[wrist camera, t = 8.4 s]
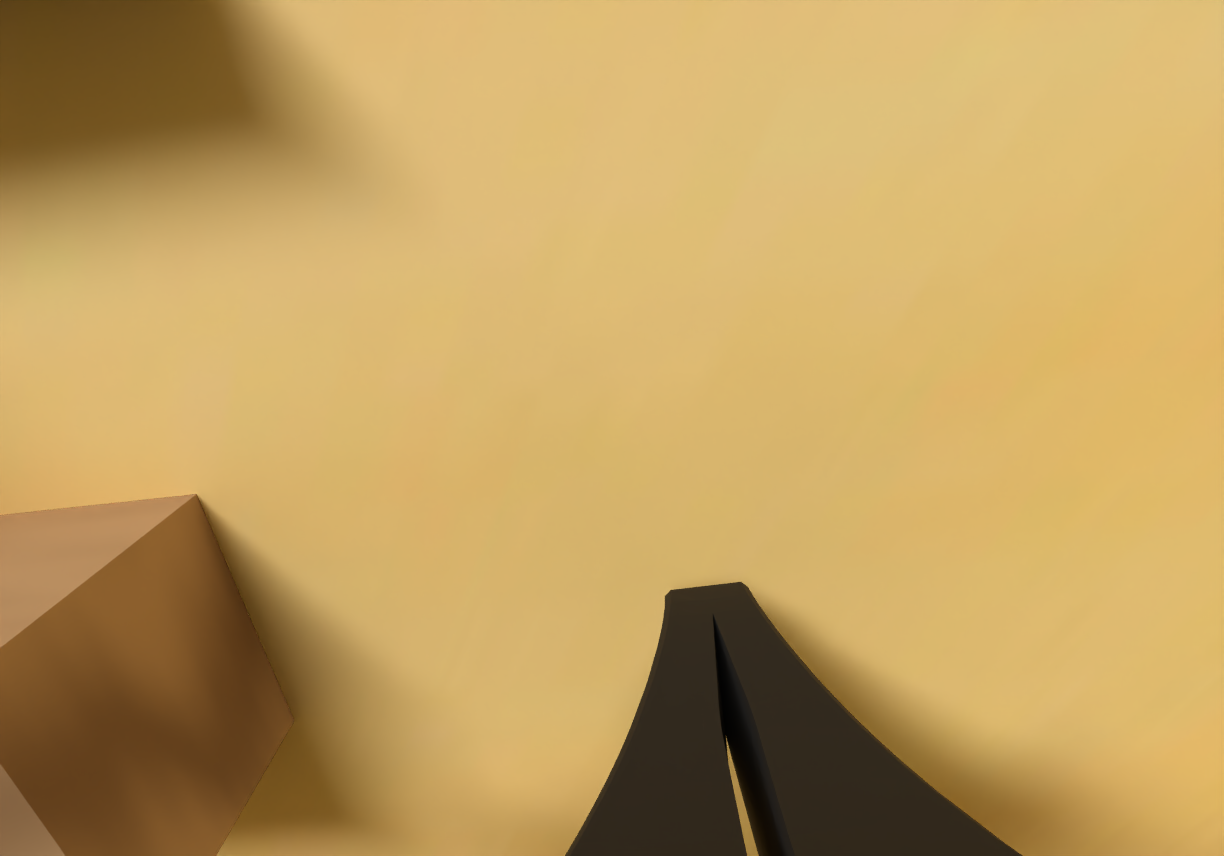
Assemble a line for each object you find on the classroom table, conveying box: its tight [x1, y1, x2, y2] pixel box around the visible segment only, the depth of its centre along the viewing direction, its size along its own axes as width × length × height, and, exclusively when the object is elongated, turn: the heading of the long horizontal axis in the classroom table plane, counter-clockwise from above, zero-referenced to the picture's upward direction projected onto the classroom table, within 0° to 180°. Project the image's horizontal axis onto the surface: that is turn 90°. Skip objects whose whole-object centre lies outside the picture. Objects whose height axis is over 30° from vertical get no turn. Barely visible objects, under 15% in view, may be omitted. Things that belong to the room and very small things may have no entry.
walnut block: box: [0, 494, 294, 856], centre depth 11 cm, size 6×6×5 cm
